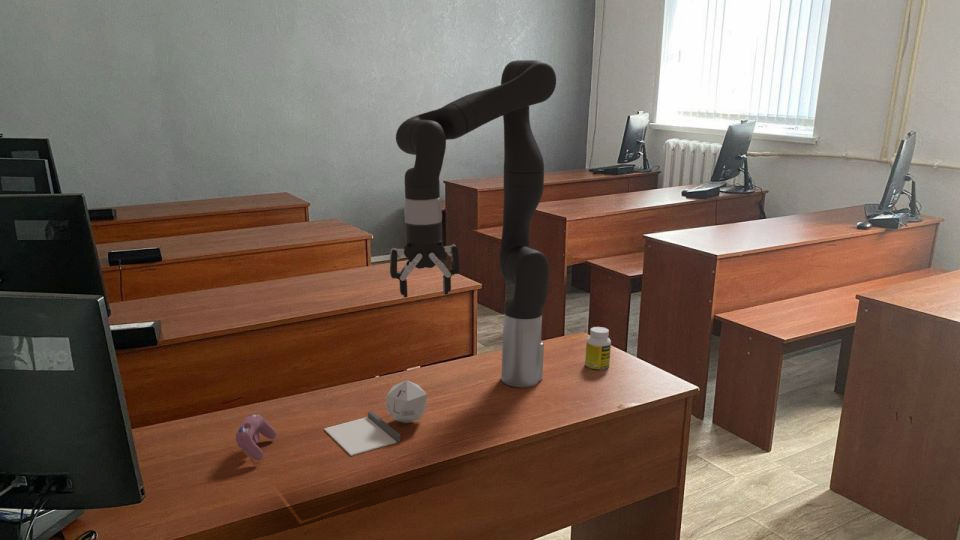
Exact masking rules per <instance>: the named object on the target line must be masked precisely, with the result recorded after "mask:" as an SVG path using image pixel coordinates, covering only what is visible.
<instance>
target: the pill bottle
mask: <svg viewBox="0 0 960 540" xmlns="http://www.w3.org/2000/svg"><path fill="white" fill-rule="evenodd" d="M589 333H590V335H589V336H588V337H587V338H586V346H585V358H584V359H585V361H584V366H585V368H586V369H589V370H593V371H605V370H608V369H609V368H610V361H611V360H610V359H611V348H612V340H611V339H610V337H609V336H610V335H609V333H610V331H609V329H608V328H607V327H603V326H602V327H601V326H593V327H591V328H590V331H589Z"/></svg>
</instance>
